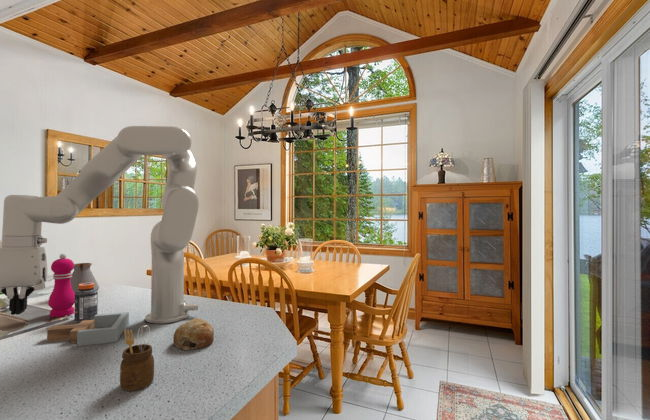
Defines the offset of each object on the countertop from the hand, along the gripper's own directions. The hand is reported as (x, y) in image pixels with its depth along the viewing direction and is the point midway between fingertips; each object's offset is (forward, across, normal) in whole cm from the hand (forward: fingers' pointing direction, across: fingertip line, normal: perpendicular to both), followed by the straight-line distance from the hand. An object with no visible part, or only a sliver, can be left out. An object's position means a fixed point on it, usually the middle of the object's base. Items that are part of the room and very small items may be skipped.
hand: (17, 313), depth 86 cm
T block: (+7, -11, 0) cm, 14 cm away
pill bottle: (+8, -10, -16) cm, 21 cm away
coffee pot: (+8, -1, -44) cm, 45 cm away
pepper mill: (+8, -2, -24) cm, 26 cm away
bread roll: (+7, -43, +14) cm, 46 cm away
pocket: (+7, -20, 0) cm, 21 cm away
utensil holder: (+7, -34, +33) cm, 47 cm away
